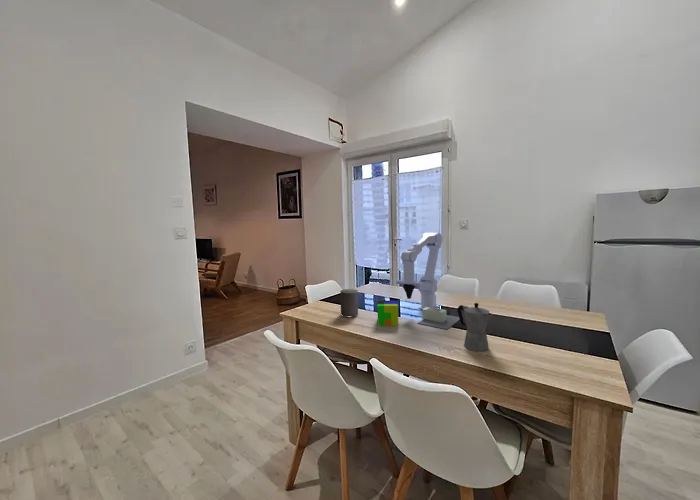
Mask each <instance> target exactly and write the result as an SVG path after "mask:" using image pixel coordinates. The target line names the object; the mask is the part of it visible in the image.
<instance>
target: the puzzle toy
mask: <svg viewBox="0 0 700 500" xmlns="http://www.w3.org/2000/svg"><path fill="white" fill-rule="evenodd" d="M376 308H377V326H378V325H380V326H383V327H384V326H386V327H388V326H390V327H391V326H392V327H393V326H399V303H398V301H397V300H377V307H376Z"/></svg>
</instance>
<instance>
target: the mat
mask: <svg viewBox="0 0 700 500" xmlns="http://www.w3.org/2000/svg"><path fill="white" fill-rule="evenodd" d="M458 322H460V319H459V316H454V315H449V314H447V320H446V321H444V322H437V321H432V320H427V319H422V320H420V321H418V322H417V325H422V326H426V327H432V328H435V329H441V330H445V331H446V330H449V329H450V328H452V327H453V326H454V325H455V324H457V323H458Z"/></svg>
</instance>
